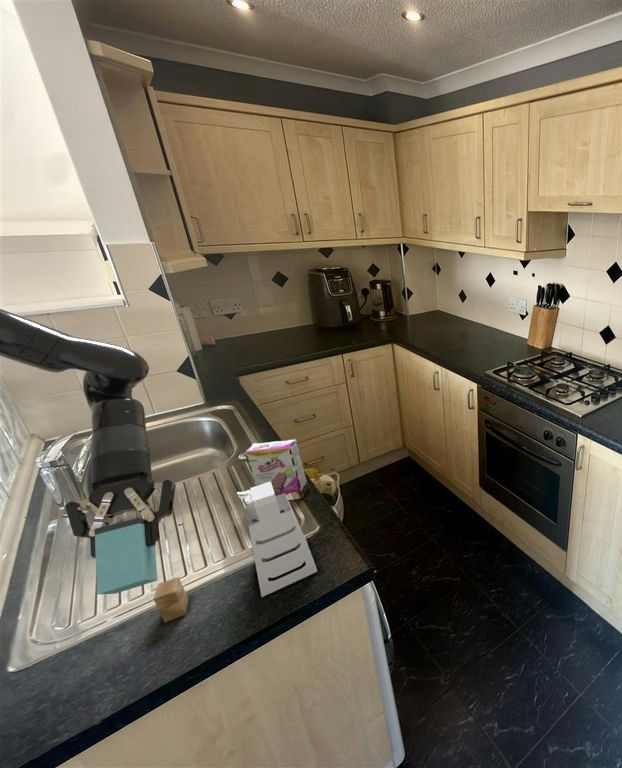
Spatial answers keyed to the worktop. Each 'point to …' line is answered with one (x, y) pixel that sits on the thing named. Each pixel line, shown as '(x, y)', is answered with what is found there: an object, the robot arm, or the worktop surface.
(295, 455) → the candy bar box
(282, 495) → the grater
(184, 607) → the prop block
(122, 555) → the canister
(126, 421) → the robot arm
